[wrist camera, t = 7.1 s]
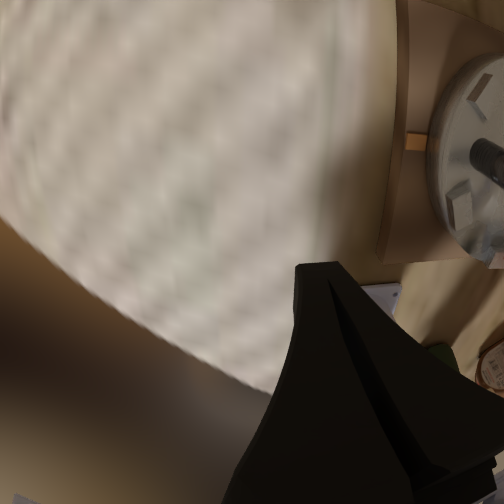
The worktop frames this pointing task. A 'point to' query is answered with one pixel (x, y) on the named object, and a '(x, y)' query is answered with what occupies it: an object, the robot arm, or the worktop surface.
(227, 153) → the worktop surface
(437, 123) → the grey disc with blocks
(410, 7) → the base board
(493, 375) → the tin
